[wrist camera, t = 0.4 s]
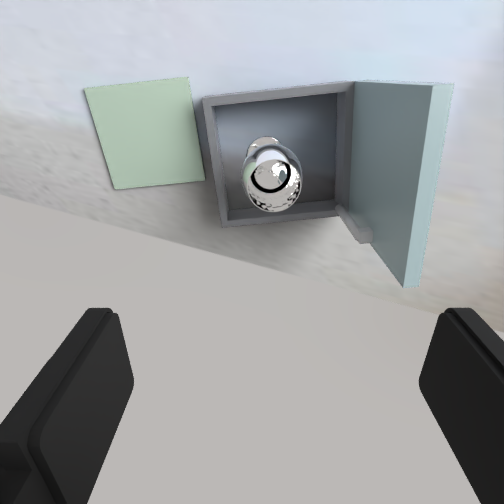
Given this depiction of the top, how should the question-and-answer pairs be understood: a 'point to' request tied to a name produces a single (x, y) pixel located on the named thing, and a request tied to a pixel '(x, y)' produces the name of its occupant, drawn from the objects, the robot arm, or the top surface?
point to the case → (365, 165)
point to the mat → (147, 132)
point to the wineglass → (271, 175)
